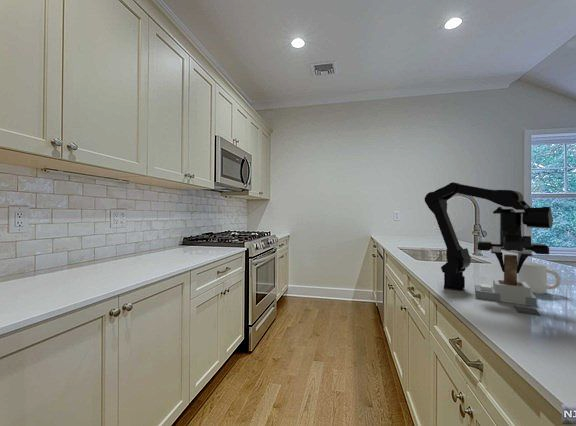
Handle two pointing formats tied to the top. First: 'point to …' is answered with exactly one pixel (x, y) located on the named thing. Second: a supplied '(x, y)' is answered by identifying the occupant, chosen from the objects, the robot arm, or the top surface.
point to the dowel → (510, 269)
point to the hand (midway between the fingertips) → (510, 272)
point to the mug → (537, 277)
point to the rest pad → (527, 310)
